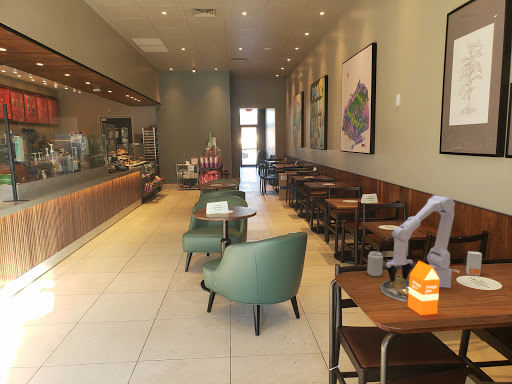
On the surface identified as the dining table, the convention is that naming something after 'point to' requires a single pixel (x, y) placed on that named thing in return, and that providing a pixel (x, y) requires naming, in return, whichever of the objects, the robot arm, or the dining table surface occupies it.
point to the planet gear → (398, 281)
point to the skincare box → (473, 263)
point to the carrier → (396, 290)
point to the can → (375, 264)
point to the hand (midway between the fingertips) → (398, 279)
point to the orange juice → (423, 289)
